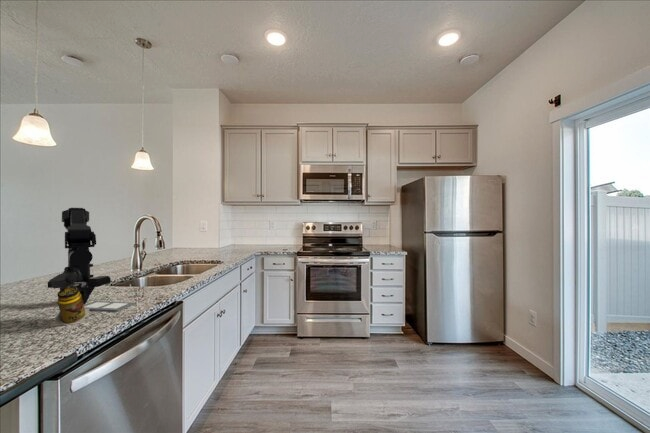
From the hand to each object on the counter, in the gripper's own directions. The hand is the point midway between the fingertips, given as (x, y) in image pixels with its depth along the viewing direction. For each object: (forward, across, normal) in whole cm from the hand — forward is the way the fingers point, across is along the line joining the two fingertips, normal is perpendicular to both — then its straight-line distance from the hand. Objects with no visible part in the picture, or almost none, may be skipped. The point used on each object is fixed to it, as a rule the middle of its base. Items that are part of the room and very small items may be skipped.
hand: (80, 304), depth 94 cm
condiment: (+4, -1, -2) cm, 5 cm away
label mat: (+5, -2, +12) cm, 14 cm away
